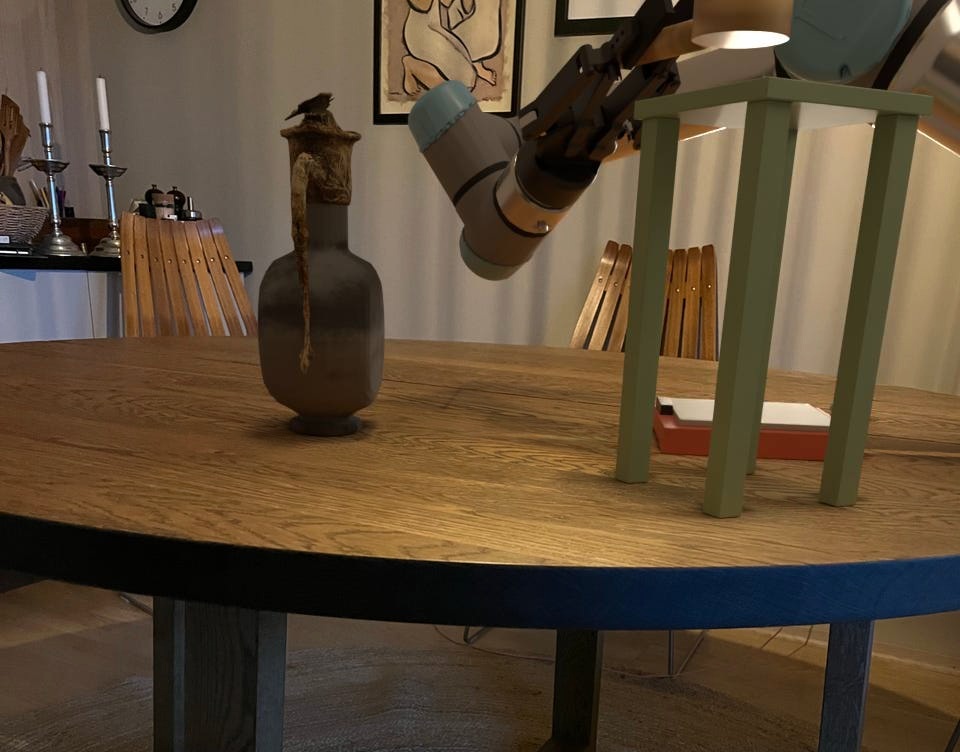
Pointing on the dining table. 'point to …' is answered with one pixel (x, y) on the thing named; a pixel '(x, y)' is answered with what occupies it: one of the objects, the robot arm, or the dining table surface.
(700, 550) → the dining table surface
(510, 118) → the robot arm
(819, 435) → the scale
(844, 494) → the shelf stand
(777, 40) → the scoop
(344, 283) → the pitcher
